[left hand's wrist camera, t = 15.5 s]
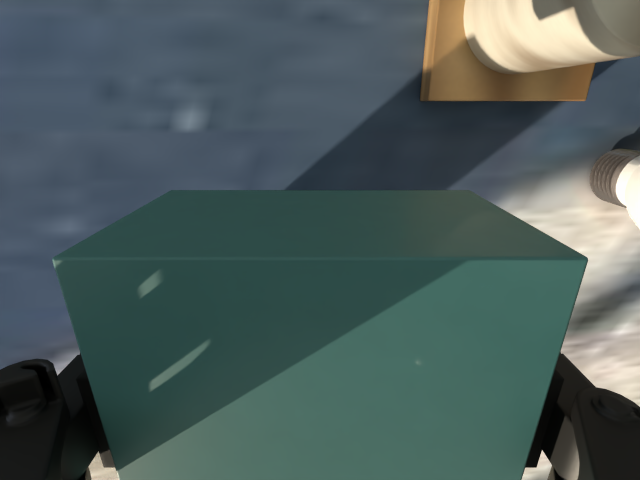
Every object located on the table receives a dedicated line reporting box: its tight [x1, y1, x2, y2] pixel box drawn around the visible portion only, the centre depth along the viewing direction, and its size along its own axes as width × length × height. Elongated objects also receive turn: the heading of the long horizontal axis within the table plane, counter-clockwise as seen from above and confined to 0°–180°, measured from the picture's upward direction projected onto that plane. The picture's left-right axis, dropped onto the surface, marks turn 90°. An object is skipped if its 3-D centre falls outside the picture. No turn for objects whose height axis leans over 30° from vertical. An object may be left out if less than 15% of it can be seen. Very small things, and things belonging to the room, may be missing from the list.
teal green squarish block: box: [53, 190, 588, 480], centre depth 10 cm, size 9×9×5 cm
